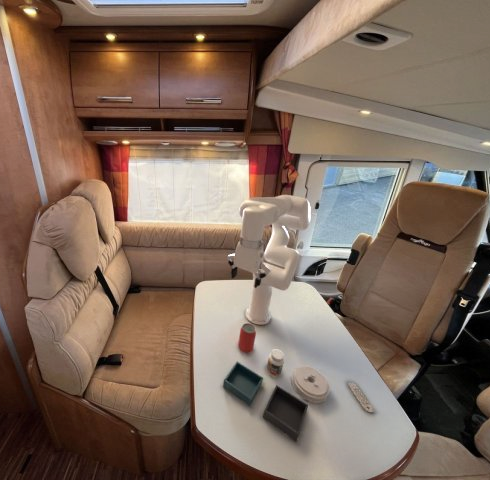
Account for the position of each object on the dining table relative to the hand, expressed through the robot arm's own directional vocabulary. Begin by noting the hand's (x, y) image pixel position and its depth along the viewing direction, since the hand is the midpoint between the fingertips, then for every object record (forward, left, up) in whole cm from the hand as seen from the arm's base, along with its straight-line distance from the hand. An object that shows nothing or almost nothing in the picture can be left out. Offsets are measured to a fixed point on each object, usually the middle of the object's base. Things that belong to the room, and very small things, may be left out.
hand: (245, 281), depth 90 cm
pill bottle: (+1, +18, -36) cm, 40 cm away
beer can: (-2, +4, -36) cm, 36 cm away
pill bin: (+14, +11, -36) cm, 40 cm away
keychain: (-9, +47, -36) cm, 59 cm away
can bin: (+14, +27, -36) cm, 47 cm away
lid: (-1, +31, -36) cm, 47 cm away
